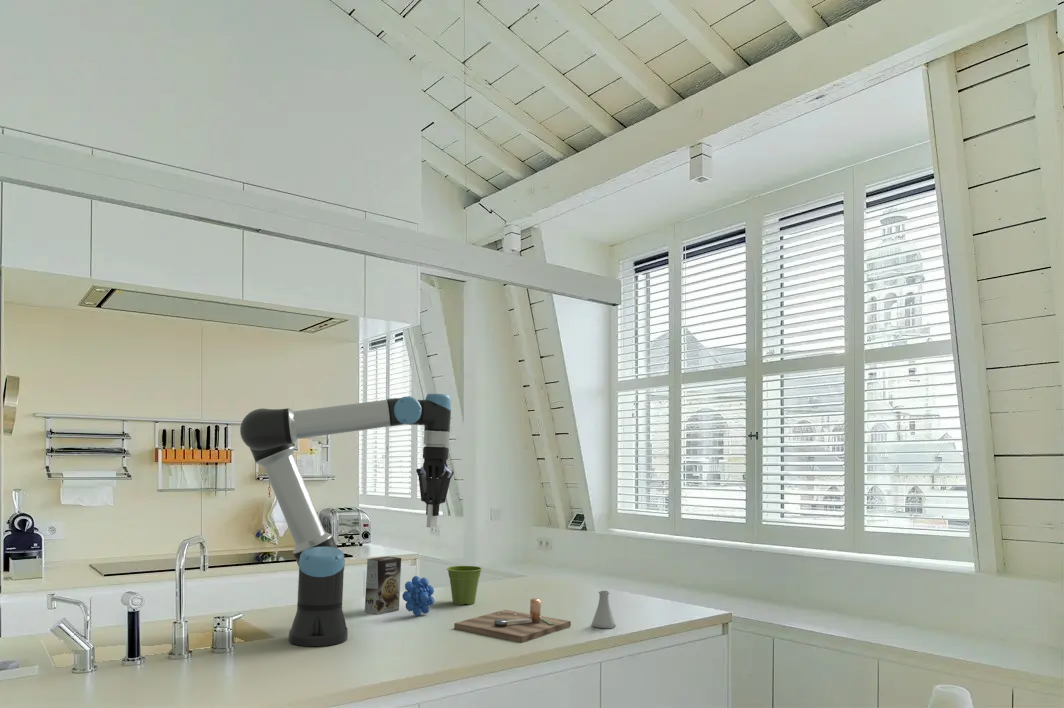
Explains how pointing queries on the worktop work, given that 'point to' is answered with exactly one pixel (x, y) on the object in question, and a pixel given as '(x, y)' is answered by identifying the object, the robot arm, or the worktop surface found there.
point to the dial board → (512, 626)
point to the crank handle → (534, 617)
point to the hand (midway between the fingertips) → (431, 526)
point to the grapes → (418, 595)
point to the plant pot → (464, 583)
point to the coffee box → (383, 585)
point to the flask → (603, 612)
